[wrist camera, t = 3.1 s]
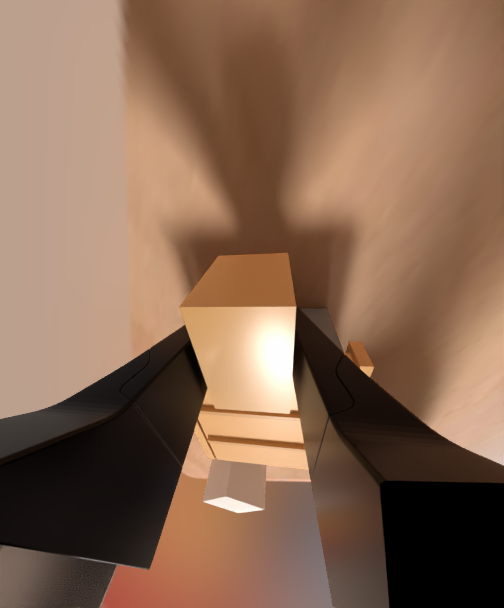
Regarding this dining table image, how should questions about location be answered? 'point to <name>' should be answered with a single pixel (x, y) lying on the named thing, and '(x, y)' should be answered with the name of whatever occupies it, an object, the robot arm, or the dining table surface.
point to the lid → (250, 360)
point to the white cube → (236, 486)
